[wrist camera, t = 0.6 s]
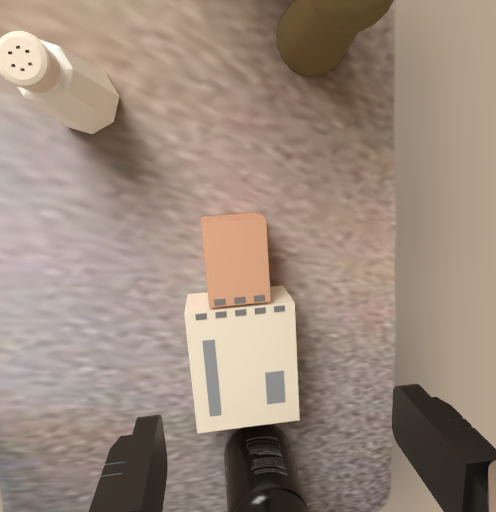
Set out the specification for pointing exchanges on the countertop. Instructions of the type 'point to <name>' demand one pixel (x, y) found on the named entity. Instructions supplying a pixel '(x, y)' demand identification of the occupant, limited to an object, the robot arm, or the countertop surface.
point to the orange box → (236, 259)
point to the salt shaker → (58, 82)
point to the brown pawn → (323, 31)
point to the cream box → (243, 362)
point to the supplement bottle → (261, 472)
